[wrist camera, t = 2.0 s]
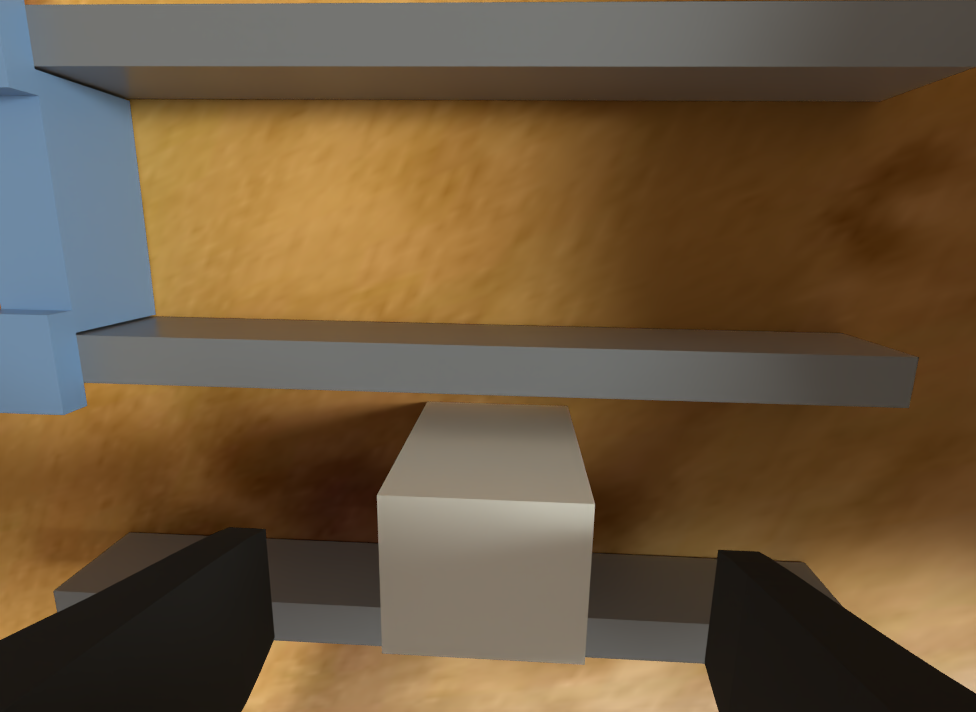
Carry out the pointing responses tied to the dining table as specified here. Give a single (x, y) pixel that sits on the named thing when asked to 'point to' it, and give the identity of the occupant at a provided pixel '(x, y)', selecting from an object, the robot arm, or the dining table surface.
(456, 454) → the cream rectangular box
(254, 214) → the dining table surface
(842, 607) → the robot arm
